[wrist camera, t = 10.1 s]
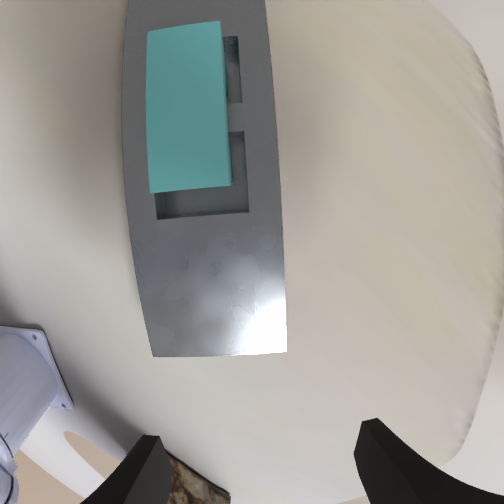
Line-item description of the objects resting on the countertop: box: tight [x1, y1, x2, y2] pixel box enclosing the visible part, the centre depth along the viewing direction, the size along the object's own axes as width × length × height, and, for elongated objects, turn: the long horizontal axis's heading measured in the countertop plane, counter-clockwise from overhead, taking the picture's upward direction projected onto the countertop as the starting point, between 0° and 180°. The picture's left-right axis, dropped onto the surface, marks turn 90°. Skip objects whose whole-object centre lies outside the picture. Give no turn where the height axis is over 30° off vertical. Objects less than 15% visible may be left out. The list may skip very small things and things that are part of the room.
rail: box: [122, 0, 286, 357], centre depth 14 cm, size 7×24×3 cm, turn 4°
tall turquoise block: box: [146, 21, 233, 194], centre depth 12 cm, size 7×3×5 cm, turn 3°
